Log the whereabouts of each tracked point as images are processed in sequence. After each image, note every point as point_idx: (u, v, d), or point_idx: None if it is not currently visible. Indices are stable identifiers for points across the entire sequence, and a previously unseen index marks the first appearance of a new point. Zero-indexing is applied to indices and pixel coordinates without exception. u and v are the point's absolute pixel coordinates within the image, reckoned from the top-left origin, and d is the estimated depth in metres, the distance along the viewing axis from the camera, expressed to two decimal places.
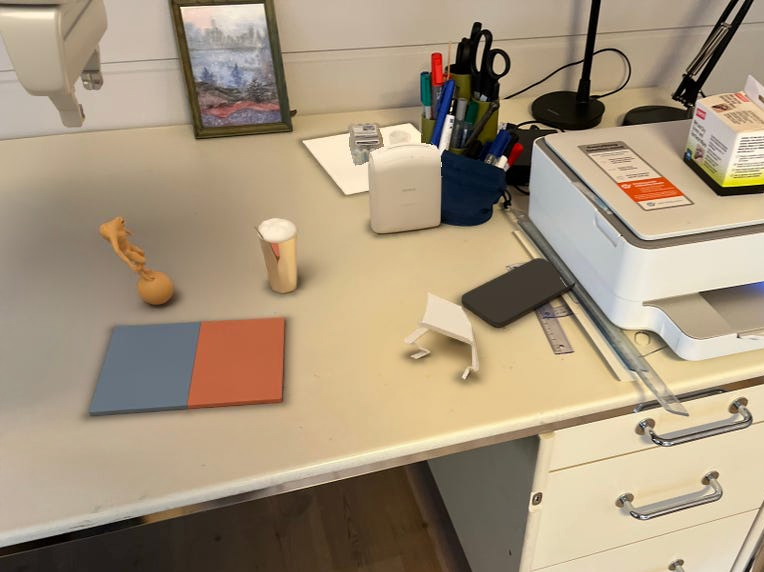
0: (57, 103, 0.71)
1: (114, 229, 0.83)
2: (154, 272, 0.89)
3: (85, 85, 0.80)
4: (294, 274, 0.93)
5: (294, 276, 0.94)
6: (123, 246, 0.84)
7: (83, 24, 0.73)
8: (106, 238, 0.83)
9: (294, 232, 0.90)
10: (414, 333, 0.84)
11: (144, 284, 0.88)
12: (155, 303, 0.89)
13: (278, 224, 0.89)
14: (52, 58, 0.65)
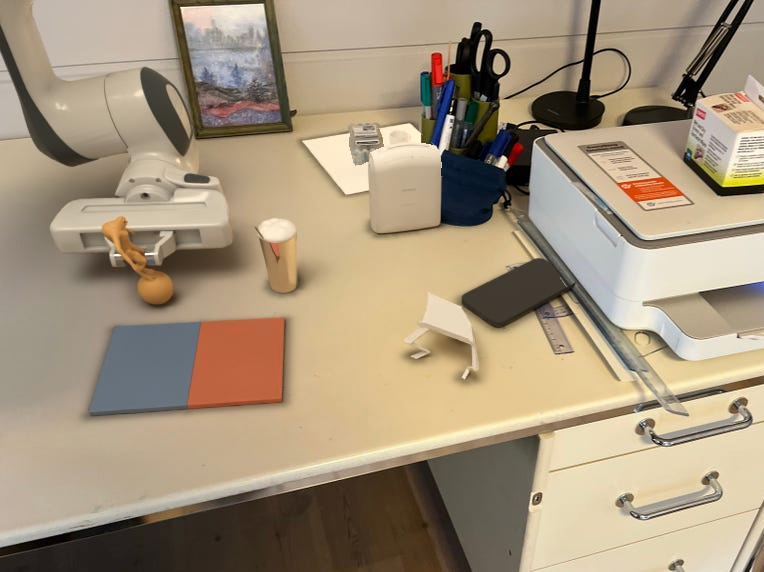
0: (167, 243, 0.88)
1: (117, 228, 0.83)
2: (155, 272, 0.89)
3: None
4: (294, 274, 0.93)
5: (294, 276, 0.94)
6: (125, 245, 0.84)
7: None
8: (108, 237, 0.83)
9: (294, 232, 0.90)
10: (414, 333, 0.84)
11: (145, 283, 0.88)
12: (155, 303, 0.89)
13: (278, 224, 0.89)
14: None
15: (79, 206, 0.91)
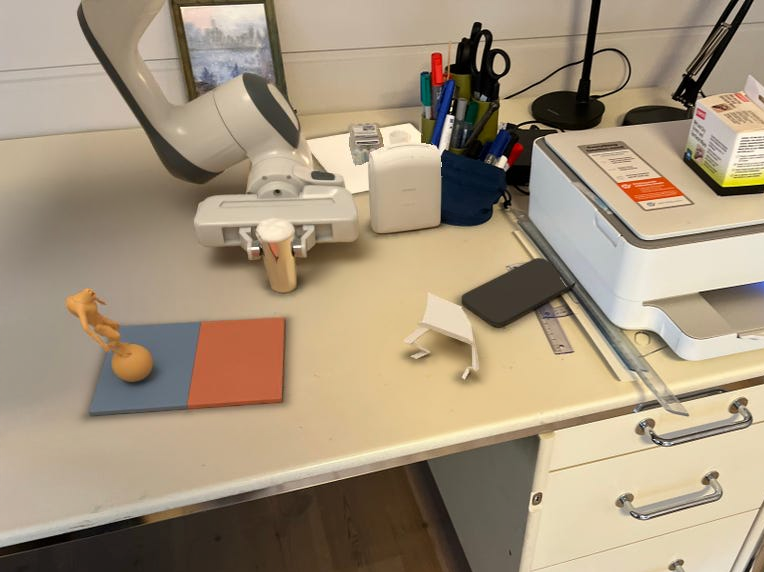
0: (310, 236, 0.93)
1: (83, 303, 0.72)
2: (131, 346, 0.78)
3: (259, 247, 0.90)
4: (293, 273, 0.93)
5: (293, 275, 0.93)
6: (94, 320, 0.73)
7: None
8: (73, 313, 0.72)
9: (292, 231, 0.90)
10: (414, 333, 0.84)
11: (119, 360, 0.77)
12: (132, 381, 0.78)
13: (275, 224, 0.89)
14: None
15: (216, 202, 0.95)
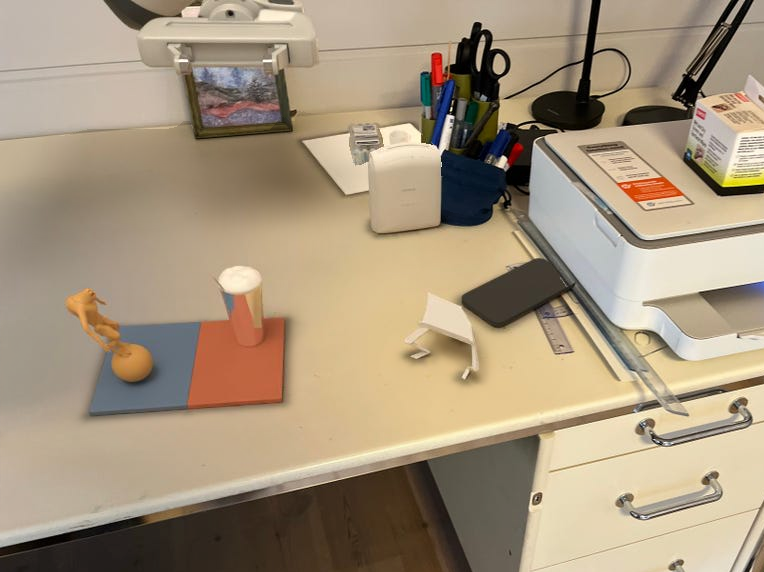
0: (282, 54, 0.86)
1: (83, 303, 0.72)
2: (131, 346, 0.78)
3: (188, 60, 0.83)
4: (260, 326, 0.84)
5: (260, 328, 0.84)
6: (94, 320, 0.73)
7: None
8: (73, 313, 0.72)
9: (259, 282, 0.81)
10: (414, 333, 0.84)
11: (119, 360, 0.77)
12: (132, 381, 0.78)
13: (240, 273, 0.80)
14: None
15: (163, 22, 0.88)
